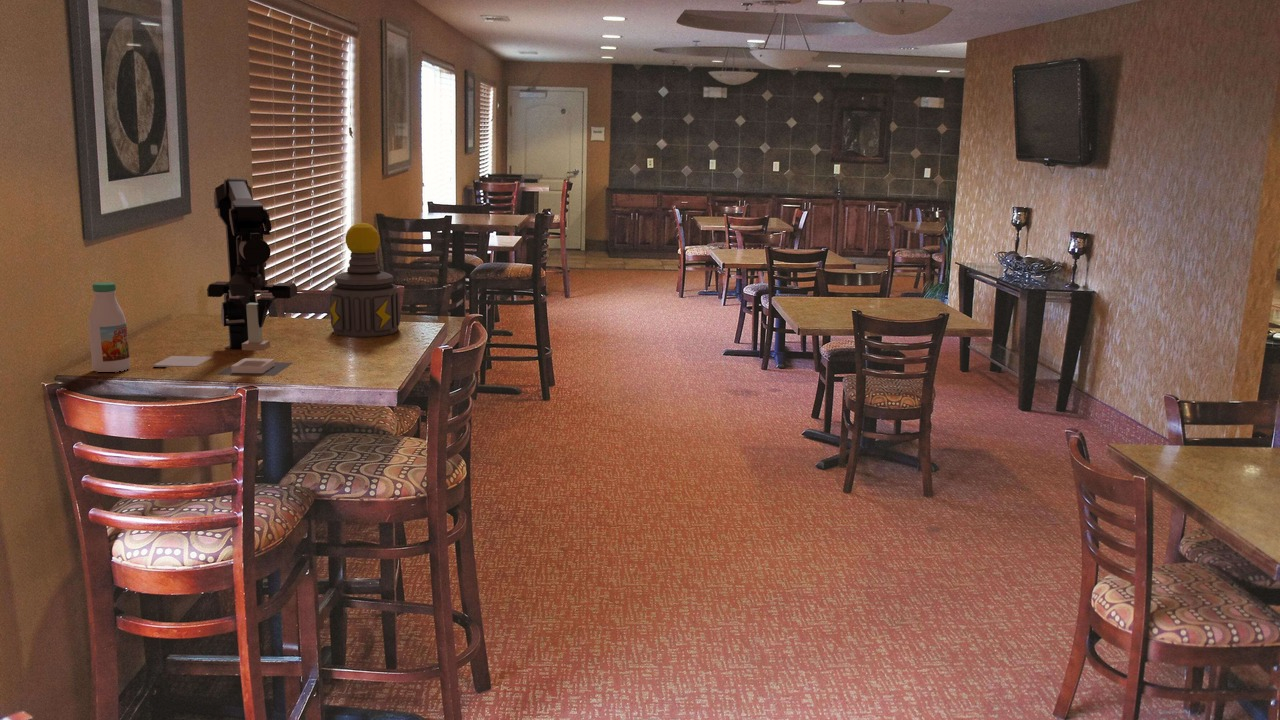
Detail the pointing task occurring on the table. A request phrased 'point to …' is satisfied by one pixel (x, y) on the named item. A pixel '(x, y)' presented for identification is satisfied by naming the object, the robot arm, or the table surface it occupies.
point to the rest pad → (182, 361)
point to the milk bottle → (108, 331)
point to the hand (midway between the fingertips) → (254, 327)
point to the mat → (271, 372)
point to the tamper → (254, 330)
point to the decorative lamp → (364, 290)
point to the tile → (253, 366)
